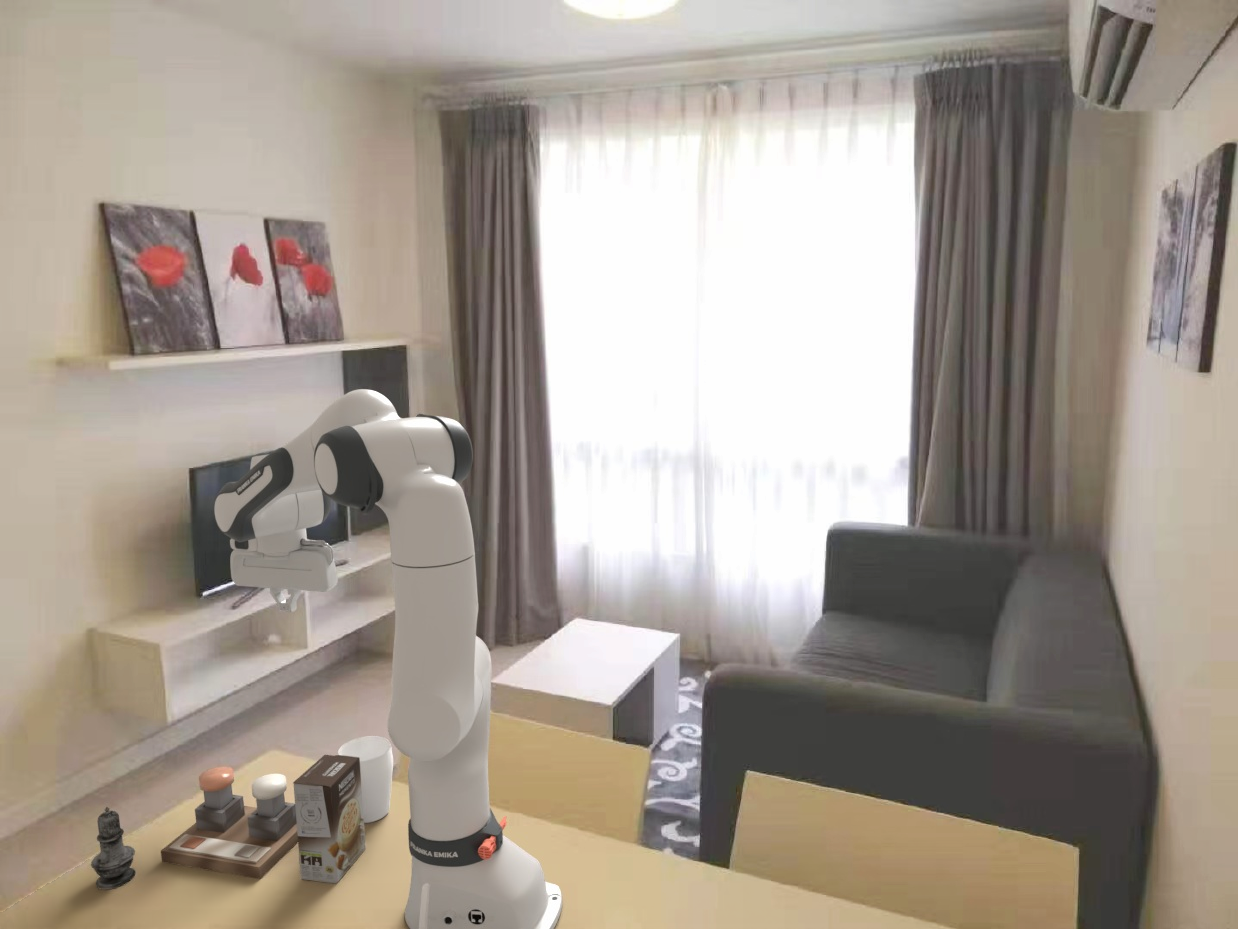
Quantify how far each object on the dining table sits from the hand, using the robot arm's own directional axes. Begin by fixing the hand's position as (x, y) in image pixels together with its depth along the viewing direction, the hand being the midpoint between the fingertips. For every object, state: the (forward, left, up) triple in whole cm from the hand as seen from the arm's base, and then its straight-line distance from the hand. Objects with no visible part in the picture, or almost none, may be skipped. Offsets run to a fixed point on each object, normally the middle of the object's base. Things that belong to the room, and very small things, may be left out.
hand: (287, 610), depth 162 cm
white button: (-10, +22, -26) cm, 35 cm away
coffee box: (-23, +25, -31) cm, 46 cm away
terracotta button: (0, +22, -26) cm, 34 cm away
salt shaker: (+8, +36, -31) cm, 48 cm away
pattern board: (-5, +24, -31) cm, 40 cm away
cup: (-21, +11, -31) cm, 39 cm away
